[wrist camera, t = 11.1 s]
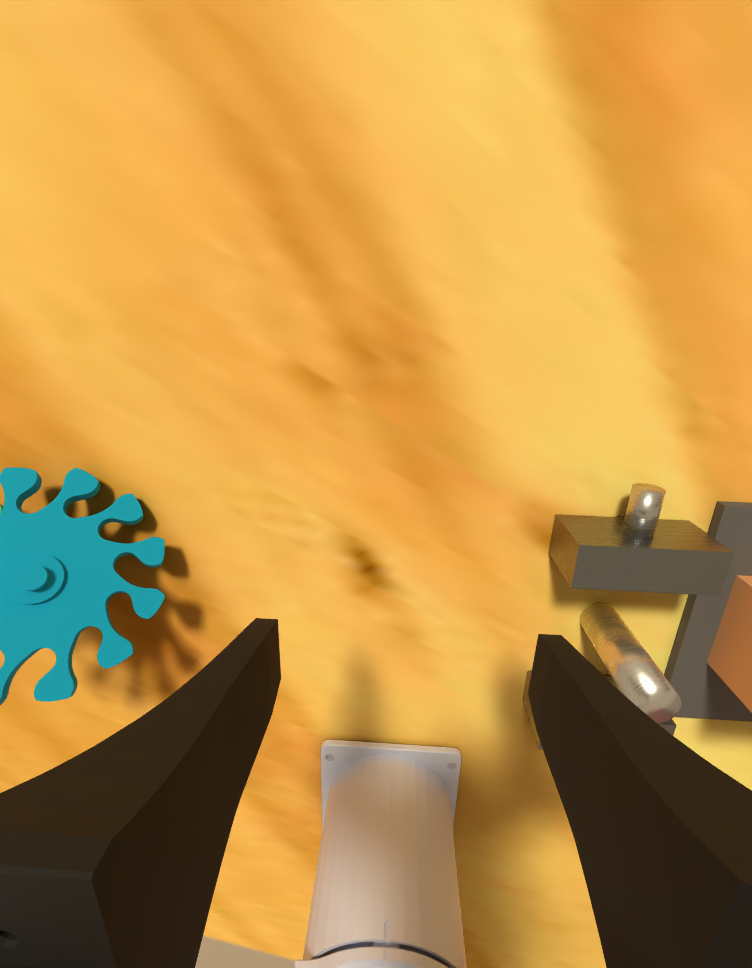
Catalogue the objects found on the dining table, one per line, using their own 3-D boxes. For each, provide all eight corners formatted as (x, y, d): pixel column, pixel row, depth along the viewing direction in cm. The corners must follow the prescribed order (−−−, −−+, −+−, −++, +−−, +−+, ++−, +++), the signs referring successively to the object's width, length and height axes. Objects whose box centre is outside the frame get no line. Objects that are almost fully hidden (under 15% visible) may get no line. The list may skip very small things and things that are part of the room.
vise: (635, 707, 24) (697, 810, 19) (522, 699, 25) (554, 800, 20) (701, 479, 20) (804, 535, 15) (562, 473, 20) (618, 526, 15)
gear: (217, 574, 21) (0, 777, 16) (207, 586, 26) (40, 743, 21) (39, 399, 20) (-246, 558, 15) (65, 447, 25) (-142, 577, 21)
